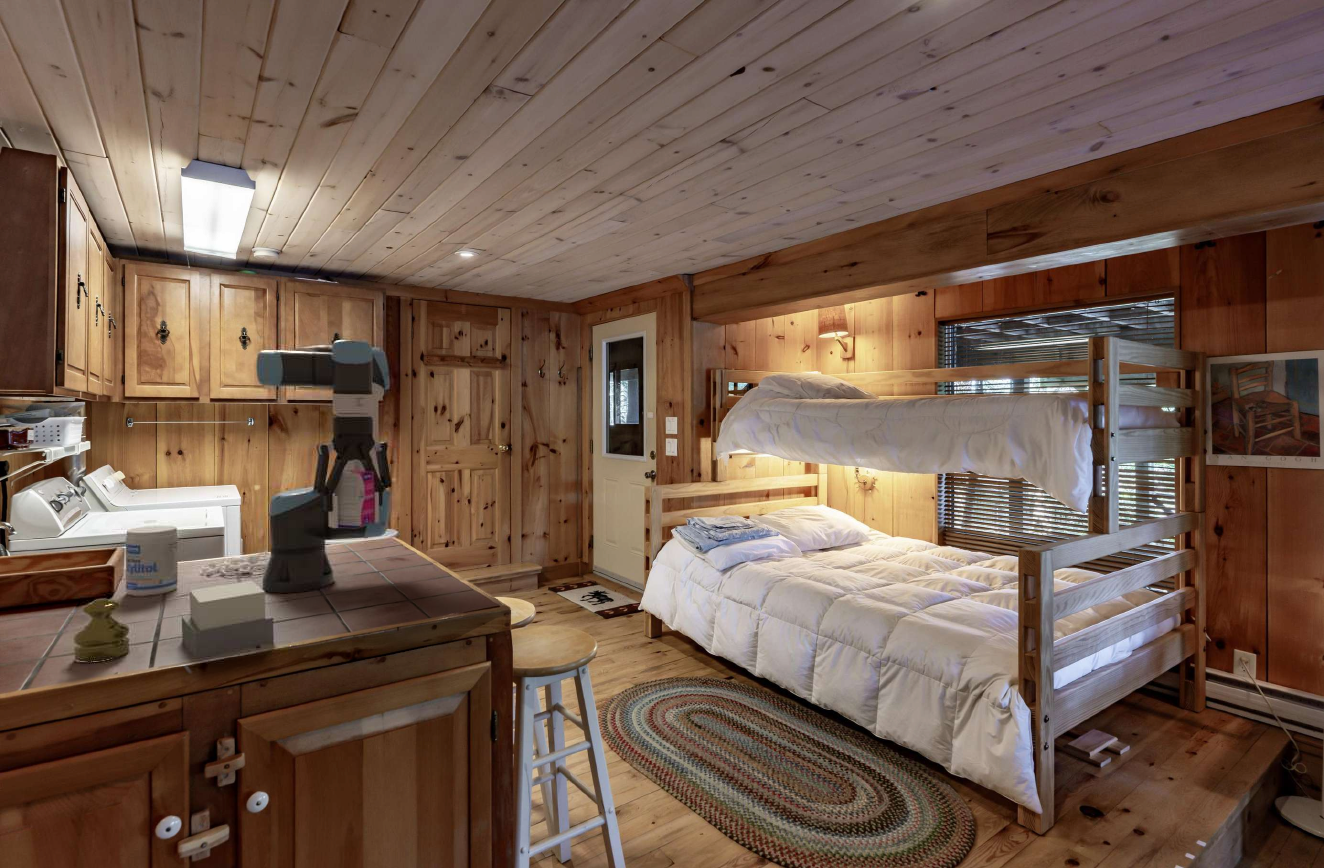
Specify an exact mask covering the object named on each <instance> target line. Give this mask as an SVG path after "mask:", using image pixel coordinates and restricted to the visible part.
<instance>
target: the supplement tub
mask: <svg viewBox="0 0 1324 868" xmlns="http://www.w3.org/2000/svg"><path fill="white" fill-rule="evenodd" d="M177 531H178V528H177V526H173V525H152V526H151V525H149V526H139V527H134V528H130V529H127V531H126V537H125V592H126V593H127V594H128V595H129V596H132V595H133V596H134V597H148V595H150V596H154V595H162V594H166V593H168V592H172V591H174V590H175V589H176V588H177V587H178V562H179V561H178V557H179V556H178V553H179V552H178V547H179V545H178V542H179V541H178V532H177Z"/></svg>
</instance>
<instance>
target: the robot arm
mask: <svg viewBox="0 0 1324 868" xmlns="http://www.w3.org/2000/svg"><path fill="white" fill-rule="evenodd" d="M256 377H257V381H258V383H259V384H260V385H262V386H268V387H275V388H277V387H278V388H279V387H309V388H310V387H312V388H313V387H314V388H321V389H332V413H333V414H335V416H334V417H333V418H332V433H333V434H332V435H333V437H332V440H331V442H328V443H325V444H323V443H321V444H320V443H319V444H317V445H316V449H317V450H316V451H317V454H318V456H317V457H318V458H317V463H316V469H315V470H316V471H315V476H314V482H313V483H314V484H313V486H312V487H311V486H310V487H304V488H302V487H301V488H296V489H291V490H287V491H283V492H280V493H277V494H275V495H273V497H271V499H270V502H269V503H270V504H269V505H270V508H269V513H268V516H269V524H270V525H269V527H270V528H269V530H270V556H269V557H270V559H269V562H268V565H267V568H265V571H264V575H263V577H262V590H263V591H265V592H267V593H268V592H269V593H275V594H285V593H287V594H289V593H300V592H308V591H313V590H318V589H323V588H324V587H327V586H329V585H332V583H333V582H334V579H335V578H334V571H333V568H332V565H331V562H330V560H329V557H328V554H327V552H326V541H331V540H332V541H334V540H336V541H337V540H354V539H369V538H377V537H383V536H384V535H385V534H386V532H387V529H388V525H389V518H390V517H389V516H390V510H391V502H392V491H391V490H388V488H391V487H392V479H391V473H390V472H391V471H390V465H389V462H388V455H387V452H388V447H389V446H388V442H384V441H379V399H381V398H383V397H384V395H385V391H386V390H389V389H390V387H391V386H390V385H391V384H390V383H391V382H390V374H389V366H388V360H387V355H386V353H385V351H384V349H382V348H381V347H375V346H372V344H371V343H370V342H368V341H365V340H364V341H363V340H354V339H353V340H351V339H347V340H346V339H342V340H341V339H340V340H335V341H333V343H332V345H327V344H320V345H310V346H304V347H298V348H295V349H292V350H277V349H273V350H261V351H259V352H258V354H257V357H256ZM332 450H333V451H334V452H335V453H336V457H335V458H334V463H333V466H332V468H331V471H330V473H329V476H328V470H329V469H328V468H329V462H330V454H332ZM347 470H360V471H372V472H374V524H370V525H367V526H363V527H360V528H338V496H335V495H334V491H335V489H336V487H337V484H338V482H339V479H340V477H341V474H342V472H343V471H347ZM327 476H328V478H327Z"/></svg>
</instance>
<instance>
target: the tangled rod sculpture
mask: <svg viewBox="0 0 1324 868" xmlns="http://www.w3.org/2000/svg"><path fill="white" fill-rule="evenodd" d="M268 552H269V551H268V550H265V551H263V552H259V553H256V554H254V553H251V554H248V555H247V556H246V557H245V558H243V557H240V556H237V557H233V558H231V559H230V558H227V557H226V558H224V559H223V560H222V561H218V562H216V561H212V562H210V563H207V564H205V565H202V567H201V570H200V572H199V574H200V575H207V576H213V575H214V574H215V572H219V573H220V574H224V575H233V574H238V573H241V574H249V573H252V572H256V571H259V570H260V569H264V568H265V569H266V568H267V565H268V562H269V559H270V556H268V557H267V556H266V555H268V554H269V553H268ZM265 561H266V562H265ZM258 562H265V563H258ZM265 569H264V570H265ZM235 570H236V571H235Z"/></svg>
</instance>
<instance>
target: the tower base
mask: <svg viewBox="0 0 1324 868" xmlns="http://www.w3.org/2000/svg"><path fill="white" fill-rule="evenodd" d="M181 631H182V634H181V637H182V638H181V639H182V642H184V643H185V644H184V643H183V644H184V645H185V647H186V646H187V647H186V648H187V649H188V651H189V653H190V654H191V655H192V656H193V658H194V659H195V660H199V659H203V658H208V657H212V656H217V655H221V654H226V653H230V652H235V651H239V650H245V649H248V648H255V647H258V646H263V645H267V644H271V643H274V639H275V638H274V617H273V616H272V615H270V614H269V613H268V612H267V611H266V610H265V619H260V620H255V621H249V622H244V623H239V624H233V625H228V626H223V627H218V628H212V629H207V630H202V631H200V630H199V629H198V627H197V626H196V624H195V623H194V621H193V620H192V619H191V617H190V615H184V616H181Z"/></svg>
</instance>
